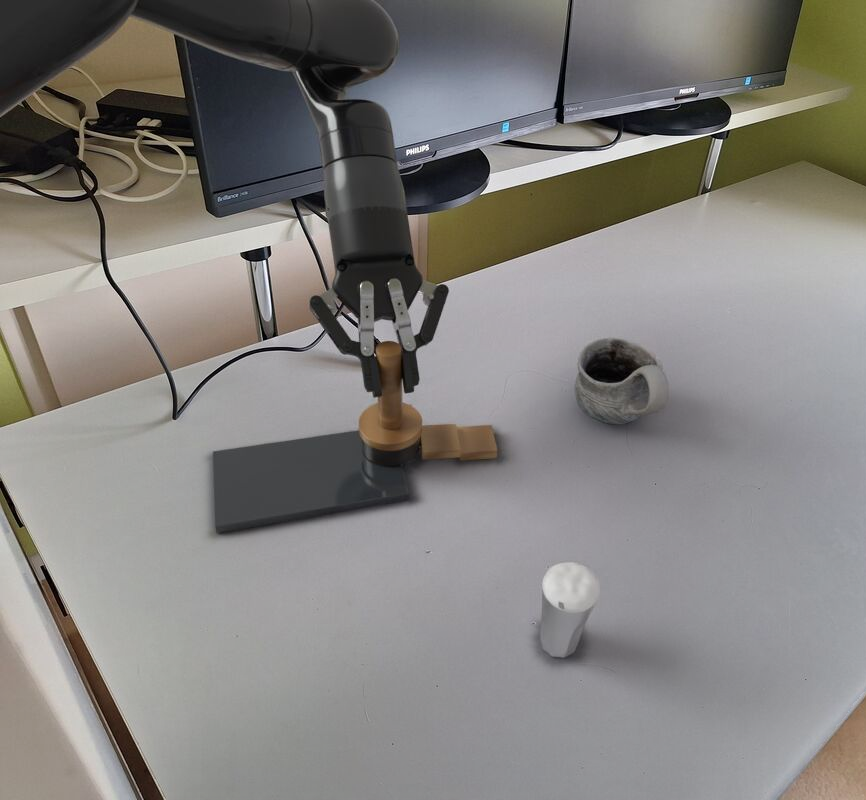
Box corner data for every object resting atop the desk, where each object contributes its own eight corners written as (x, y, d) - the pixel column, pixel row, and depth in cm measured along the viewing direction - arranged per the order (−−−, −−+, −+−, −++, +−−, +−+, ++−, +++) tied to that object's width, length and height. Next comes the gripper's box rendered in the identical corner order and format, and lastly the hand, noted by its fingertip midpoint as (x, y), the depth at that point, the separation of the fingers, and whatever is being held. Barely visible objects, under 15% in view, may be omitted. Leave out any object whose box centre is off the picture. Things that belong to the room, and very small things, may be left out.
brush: (366, 473, 77) (360, 374, 68) (355, 429, 81) (348, 332, 72) (428, 462, 79) (430, 365, 70) (414, 420, 83) (414, 324, 74)
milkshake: (520, 660, 64) (532, 591, 57) (544, 610, 68) (557, 540, 61) (571, 682, 63) (589, 614, 56) (591, 630, 67) (610, 561, 60)
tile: (216, 533, 70) (214, 526, 70) (214, 458, 77) (212, 451, 77) (409, 499, 76) (409, 493, 75) (391, 432, 83) (390, 425, 82)
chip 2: (459, 460, 81) (460, 452, 80) (455, 434, 83) (455, 426, 83) (496, 458, 81) (497, 450, 81) (490, 432, 84) (491, 424, 84)
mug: (614, 373, 94) (628, 306, 88) (686, 433, 87) (708, 365, 81) (553, 399, 90) (564, 331, 83) (624, 465, 83) (643, 396, 76)
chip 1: (421, 459, 79) (422, 451, 78) (418, 433, 82) (418, 425, 81) (460, 457, 80) (460, 449, 79) (455, 431, 83) (456, 423, 82)
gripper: (291, 207, 67) (319, 402, 67) (446, 198, 71) (473, 381, 71) (292, 231, 74) (317, 407, 74) (432, 222, 78) (457, 388, 78)
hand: (393, 393), depth 72 cm, fingers closed on brush, 2 cm apart
